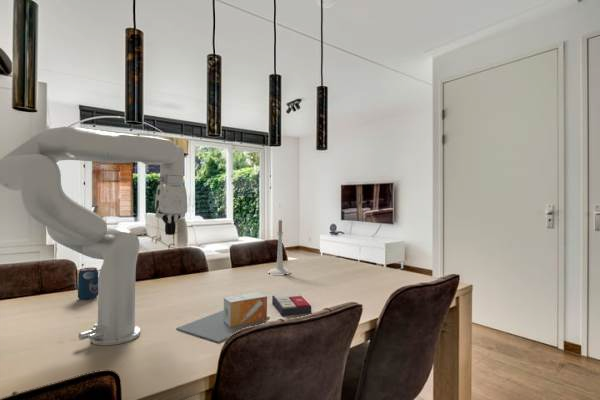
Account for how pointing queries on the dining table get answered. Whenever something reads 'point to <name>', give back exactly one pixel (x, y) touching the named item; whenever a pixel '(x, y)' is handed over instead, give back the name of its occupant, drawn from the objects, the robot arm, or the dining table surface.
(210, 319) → the mat
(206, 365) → the dining table surface
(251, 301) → the small box
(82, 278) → the soda can
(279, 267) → the candlestick
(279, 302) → the flat red grey box
